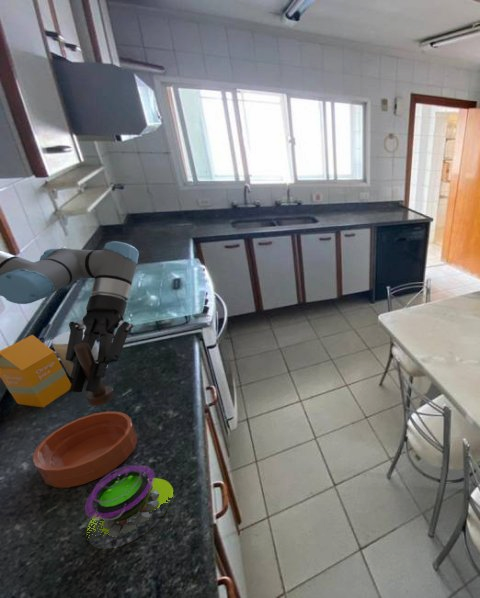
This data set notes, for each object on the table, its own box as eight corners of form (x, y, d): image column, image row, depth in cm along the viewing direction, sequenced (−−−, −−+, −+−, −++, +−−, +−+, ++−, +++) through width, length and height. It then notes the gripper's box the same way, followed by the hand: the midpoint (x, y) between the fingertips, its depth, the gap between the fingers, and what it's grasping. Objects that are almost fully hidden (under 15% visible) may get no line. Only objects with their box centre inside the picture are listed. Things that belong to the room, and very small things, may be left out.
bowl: (49, 449, 83) (39, 430, 80) (136, 420, 93) (130, 402, 91) (38, 505, 71) (26, 485, 68) (140, 464, 81) (133, 445, 78)
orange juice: (20, 408, 94) (-18, 351, 85) (51, 387, 102) (20, 333, 93) (45, 410, 94) (11, 353, 85) (75, 389, 102) (46, 335, 93)
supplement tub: (115, 364, 114) (99, 328, 107) (94, 382, 106) (75, 344, 99) (86, 364, 113) (68, 328, 107) (62, 382, 105) (41, 344, 98)
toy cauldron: (83, 509, 71) (61, 476, 66) (164, 467, 80) (151, 435, 75) (90, 569, 61) (66, 535, 56) (182, 512, 71) (167, 479, 66)
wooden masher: (89, 396, 84) (67, 343, 77) (114, 389, 87) (95, 337, 80) (88, 408, 80) (65, 353, 74) (114, 400, 83) (94, 347, 76)
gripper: (150, 303, 90) (129, 391, 82) (86, 303, 88) (58, 393, 80) (133, 293, 83) (109, 389, 75) (63, 293, 81) (31, 391, 73)
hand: (83, 391), depth 78 cm, fingers closed on wooden masher, 3 cm apart
